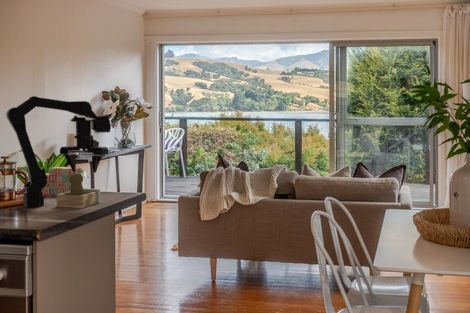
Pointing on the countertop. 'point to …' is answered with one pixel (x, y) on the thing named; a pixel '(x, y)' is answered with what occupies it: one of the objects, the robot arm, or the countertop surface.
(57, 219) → the countertop surface
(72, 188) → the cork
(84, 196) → the socket block
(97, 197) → the track and backstop
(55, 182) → the stack of blocks
